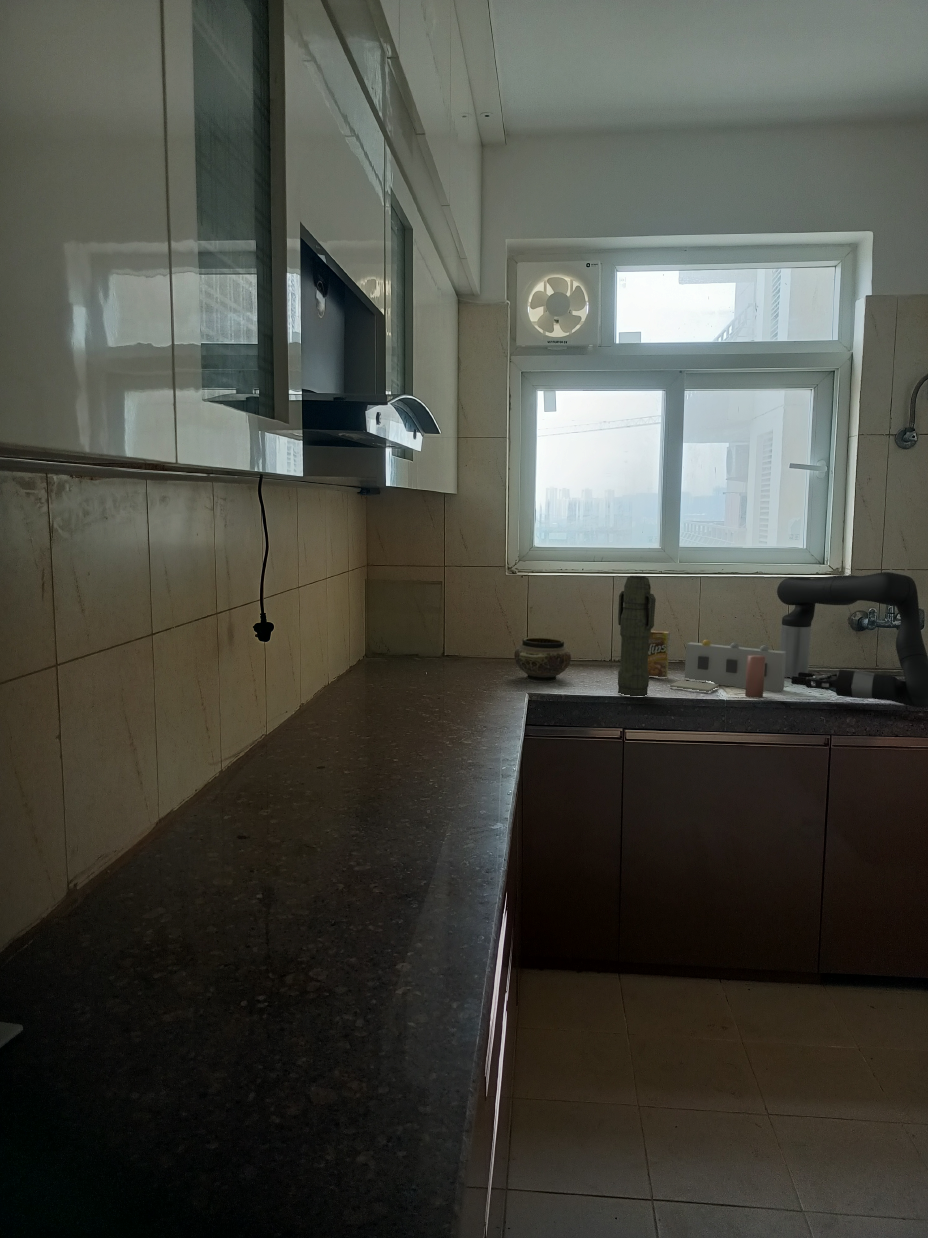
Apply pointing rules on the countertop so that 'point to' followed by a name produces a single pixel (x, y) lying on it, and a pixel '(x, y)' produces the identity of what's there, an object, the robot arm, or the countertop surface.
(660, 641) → the candy box
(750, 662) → the pink cylinder
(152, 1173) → the countertop surface
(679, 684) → the pad
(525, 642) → the ceramic bowl
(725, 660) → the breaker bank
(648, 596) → the thermos
